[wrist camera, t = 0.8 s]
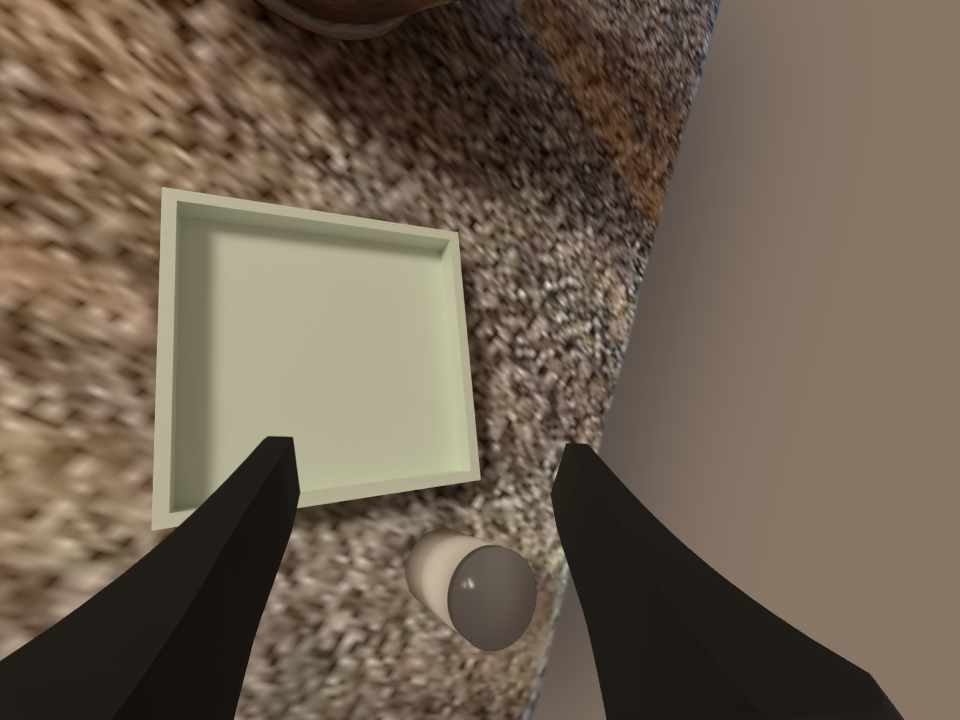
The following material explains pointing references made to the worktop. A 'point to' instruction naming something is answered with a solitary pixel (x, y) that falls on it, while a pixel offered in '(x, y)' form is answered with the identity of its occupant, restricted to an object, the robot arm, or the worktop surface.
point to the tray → (307, 352)
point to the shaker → (473, 587)
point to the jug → (349, 15)
